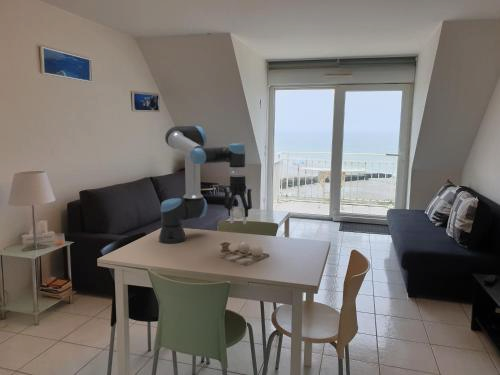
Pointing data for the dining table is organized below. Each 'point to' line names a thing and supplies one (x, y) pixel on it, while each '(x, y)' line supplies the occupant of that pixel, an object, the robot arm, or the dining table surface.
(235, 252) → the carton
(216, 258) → the dining table surface
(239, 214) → the white ball
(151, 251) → the dining table surface
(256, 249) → the cream white ball
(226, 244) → the stand
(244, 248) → the pale beige ball
